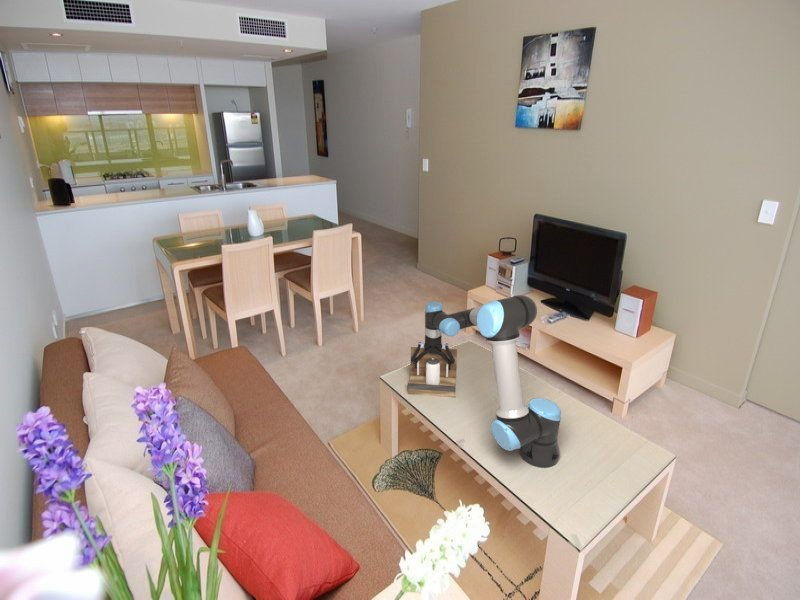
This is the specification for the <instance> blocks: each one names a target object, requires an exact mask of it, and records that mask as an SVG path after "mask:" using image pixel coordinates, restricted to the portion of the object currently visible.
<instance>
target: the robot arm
mask: <svg viewBox="0 0 800 600" xmlns="http://www.w3.org/2000/svg"><path fill="white" fill-rule="evenodd" d="M442 304H443V303H441V302H439V301H436V300H435V301H429V302H426V304H425V310H424V343H422V342H421V341H419V342H418V343H417V344H418V345H417V346H416V347H417V349H416V351H415V352H414V354H413V356H412V357H411V356H410V362H411V361H414V362H415V368H417V375H419V360H420V359H421V358H422V357H423V356H424V355H425V354H427V353H428V352H429V353H434V354H436V353H438V354H439V355H440V356H441V357H442V358H443V359H444V360H445V361H446V362H447V366H446V377H448V370H450V369H451V364H454V363H455V359H454V357H453V355H452V353H451V352H450V350H449V349H450V348H449V343H445V344H442V336H443V335H445V336H447V337H454V336H456V335H457V334H458V333H459V331H460V330H463V329H467V328H470V327H475V326H476V327H477V329H478V330H479V333H480V334H481V335H482V336H483V337H484V338H485V340H486V341H487V342H488V343H489V344H490V346H491V352H492V353H491V354H492V360H493V361H492V362H493V368H494V374H495V375H494V376H495V377H494V378H495V384H496V389H497V390H496V391H497V399H498V406H499V407H498V408H497V409H496V411H495V416H496V419H495V420H493V421H492V423H491V425H490V430H491V434H492V436H493V438H494V440H495V441H496V442H497V444H498V445H499V446H500V447H501V448H502V449H504V450H505V451H509V452H512V451H514V450H518V453H519V456H520V458H522V460H523V461H524V462H526V463H527V464H529V465H531V466H533V467H538V468H542V469H543V468H550V467H554V466H556V464H557V463H559V461H560V455H561V451H560V448H559V447H560V446H559V444H558V436H559V430H560V425H561V419H562V417H561V416H562V411H561V407H560V406H559V405H558V404H557V403H555V402H554V401H551V400H550V399H548V398H547V399H546V398H542V397H536V398H533V399H531V400H530V401H529V402H528V407H527V406H526V405H524V398H523V397H524V396H523V389H522V381H521V380H522V379H521V372H520V366H519V356H518V349H517V340H518V339H519V338H520V329H523V328H525V327H526V328H527V327H528V326H530V325H531V324H532V323H534V321H535V319H536V317H537V315H538V307H537V304H536V302H535V301H534V299H532V298H530V297H529V296H527V295H523V294H521V295H520V294H517V295H513V296H509V297H505V298H500V299H496V300H492V301H490V302H486V303H484V304H482V305H481V306H479V307H472V308H469V309H465V310H461V311H457V312H453V313H449V314H448V313H446V312H444V311H443V309H444V308H443V305H442ZM442 334H443V335H442ZM420 348H425V349H424V351H423V352H422V353H421V354H420V355H419V356H417V354H418V352H419V351H420ZM441 349H446V352H447V354H448V356H449V358H450V359H449V358H448V357H447V356H446V355H445V354H444V352H443V351H442V350H441ZM416 356H417V357H416ZM415 357H416V358H415Z"/></svg>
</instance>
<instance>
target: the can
mask: <svg viewBox="0 0 800 600" xmlns="http://www.w3.org/2000/svg"><path fill="white" fill-rule="evenodd" d="M439 382H440V363H439V360H438V359H435V358H430V359H428V360H427V363H426V384H431V385H438V384H439Z"/></svg>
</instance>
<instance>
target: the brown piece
mask: <svg viewBox="0 0 800 600" xmlns="http://www.w3.org/2000/svg"><path fill="white" fill-rule="evenodd" d="M417 347H418V346H416V347H415V346H411V347H410V358H411V357H412V356H413V354H414V352H415V351H416V349H417ZM424 349H425V348H424V347H422V348H420V351H419V352H418V354H417V356H419V355H420V354H421V353H422V352H423V351H424ZM441 350H442V351H443V352H444V354H445V355H446V356H447V357H448V358H449V356H448V354H447V352H446V349H444V348H442V349H441ZM449 350H450V352H451V353H452V355H453V357H454V359H455V363H454V364H451V369H450V370H448V377H446V366H447V362H446V361H445V360H444V359H443V358H442V357H441V356H440V355H439V354H438V353H436V354H434V353H429V352H428V353H427V354H425V355H424V356H423V357H422V358H421V359H420V360H419V375H417V368H415V362H414V361H411V360H410V378H409V382H408V383H407V394H408V395H412V396H413V395H416V396H417V395H419V396H433V397H443V398H444V397H447V398H456V390H457V389H456V386H457V384H456V383H457V362H458V359H457V357H458V349H456V348H449ZM417 356H416V357H417ZM416 357H415V358H416ZM430 358H435V359H438V360H439V363H440V382H439V384H438V385H431V384H426V363H427V360H428V359H430ZM449 359H450V358H449Z"/></svg>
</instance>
